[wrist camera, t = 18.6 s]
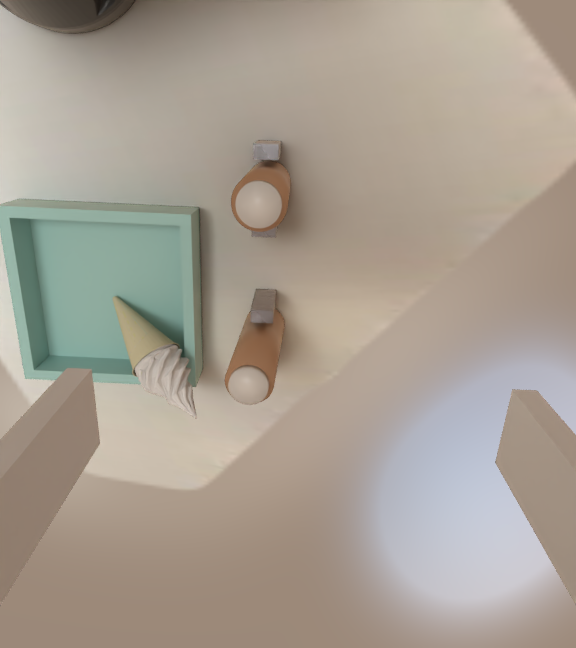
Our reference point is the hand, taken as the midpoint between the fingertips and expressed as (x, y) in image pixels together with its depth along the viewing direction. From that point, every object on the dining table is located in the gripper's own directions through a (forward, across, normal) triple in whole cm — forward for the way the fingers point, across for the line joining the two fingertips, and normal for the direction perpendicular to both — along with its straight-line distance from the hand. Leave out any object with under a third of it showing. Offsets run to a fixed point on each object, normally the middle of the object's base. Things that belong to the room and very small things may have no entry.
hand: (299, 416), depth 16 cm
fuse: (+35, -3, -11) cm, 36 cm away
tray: (+35, -18, -8) cm, 40 cm away
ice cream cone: (+34, -18, -8) cm, 39 cm away
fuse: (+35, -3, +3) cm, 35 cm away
